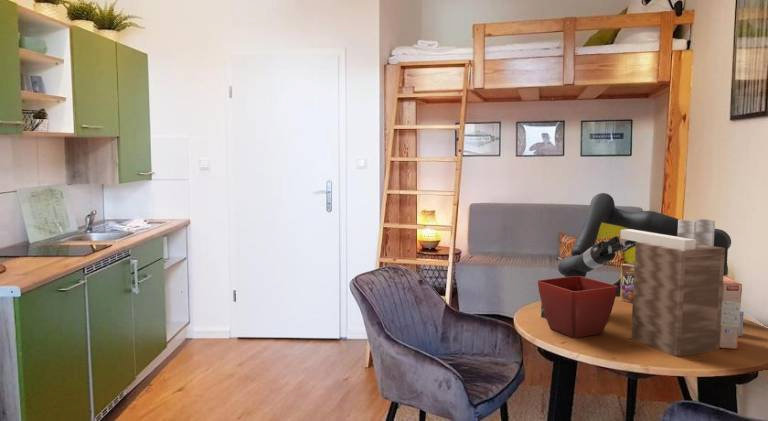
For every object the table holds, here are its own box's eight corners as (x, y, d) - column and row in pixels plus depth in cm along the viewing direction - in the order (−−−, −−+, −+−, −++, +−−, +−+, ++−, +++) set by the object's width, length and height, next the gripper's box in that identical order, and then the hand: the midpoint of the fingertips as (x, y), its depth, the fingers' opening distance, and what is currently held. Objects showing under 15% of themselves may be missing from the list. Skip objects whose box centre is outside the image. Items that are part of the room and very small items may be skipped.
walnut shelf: (631, 338, 191) (636, 218, 187) (671, 333, 197) (677, 216, 193) (676, 356, 174) (683, 224, 170) (718, 349, 180) (726, 222, 176)
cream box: (620, 238, 197) (620, 229, 196) (630, 237, 198) (630, 229, 198) (684, 250, 173) (684, 240, 172) (695, 249, 174) (695, 239, 174)
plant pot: (534, 326, 204) (536, 279, 202) (577, 320, 212) (579, 275, 210) (572, 342, 187) (574, 291, 185) (617, 335, 194) (619, 286, 192)
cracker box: (739, 349, 180) (743, 283, 178) (718, 348, 181) (722, 282, 179) (721, 336, 194) (725, 274, 192) (701, 334, 195) (705, 273, 193)
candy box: (619, 300, 241) (620, 264, 239) (625, 299, 243) (626, 263, 242) (639, 305, 233) (641, 267, 232) (645, 303, 236) (647, 266, 234)
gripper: (579, 246, 209) (607, 228, 195) (610, 244, 214) (640, 227, 200) (585, 266, 206) (615, 249, 192) (617, 263, 211) (648, 247, 197)
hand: (628, 238), depth 196 cm, fingers open, 8 cm apart
